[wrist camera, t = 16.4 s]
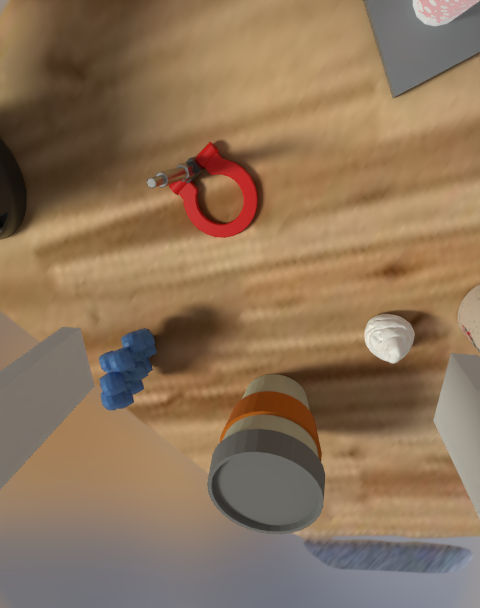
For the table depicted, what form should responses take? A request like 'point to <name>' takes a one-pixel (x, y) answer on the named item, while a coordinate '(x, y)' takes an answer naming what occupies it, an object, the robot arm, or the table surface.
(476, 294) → the teacup with lid
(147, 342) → the grapes
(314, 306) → the table surface
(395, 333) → the white meringue swirl
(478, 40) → the coaster
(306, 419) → the reusable coffee cup
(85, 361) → the robot arm
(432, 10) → the beverage cup
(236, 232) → the tow hook
